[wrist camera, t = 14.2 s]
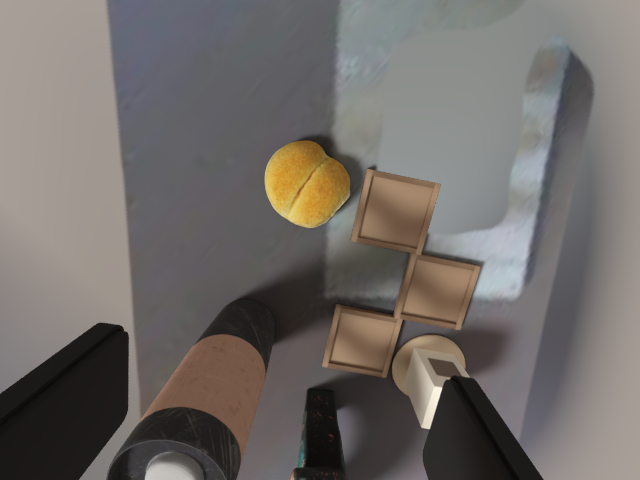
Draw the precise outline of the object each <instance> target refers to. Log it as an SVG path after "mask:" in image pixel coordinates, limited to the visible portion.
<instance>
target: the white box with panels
mask: <svg viewBox="0 0 640 480" xmlns="http://www.w3.org/2000/svg"><path fill="white" fill-rule="evenodd" d="M453 375H456V376H463V377H469V378H470V376H469V375H468V374H467V372H466V371H465V369H464V368H463V366H462V365H461V364H460V362H459V361H458V359H457V358H456V357H455V355H454V354H449V353H443V352H437V351H432V350H426V349H421V348H415V347H414V350H413V353H412V357H411V360H410V363H409V367H408V370H407V374H406V377H405V381H404V384H405V387H406V389H407V392H408V394H409V397H410V400H411V402H412V405H413V408H414V410H415V413H416V415H417V418H418V421H419V423H420V426H421V428H426V429H430V427H431V423H432V420H433V417H434V414H435V410H436V407H437V404H438V400H439V397H440V394H441V391H442V387H443V384H444V382H445V380H447V379H448V380H450V378H451V377H452V376H453Z"/></svg>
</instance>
